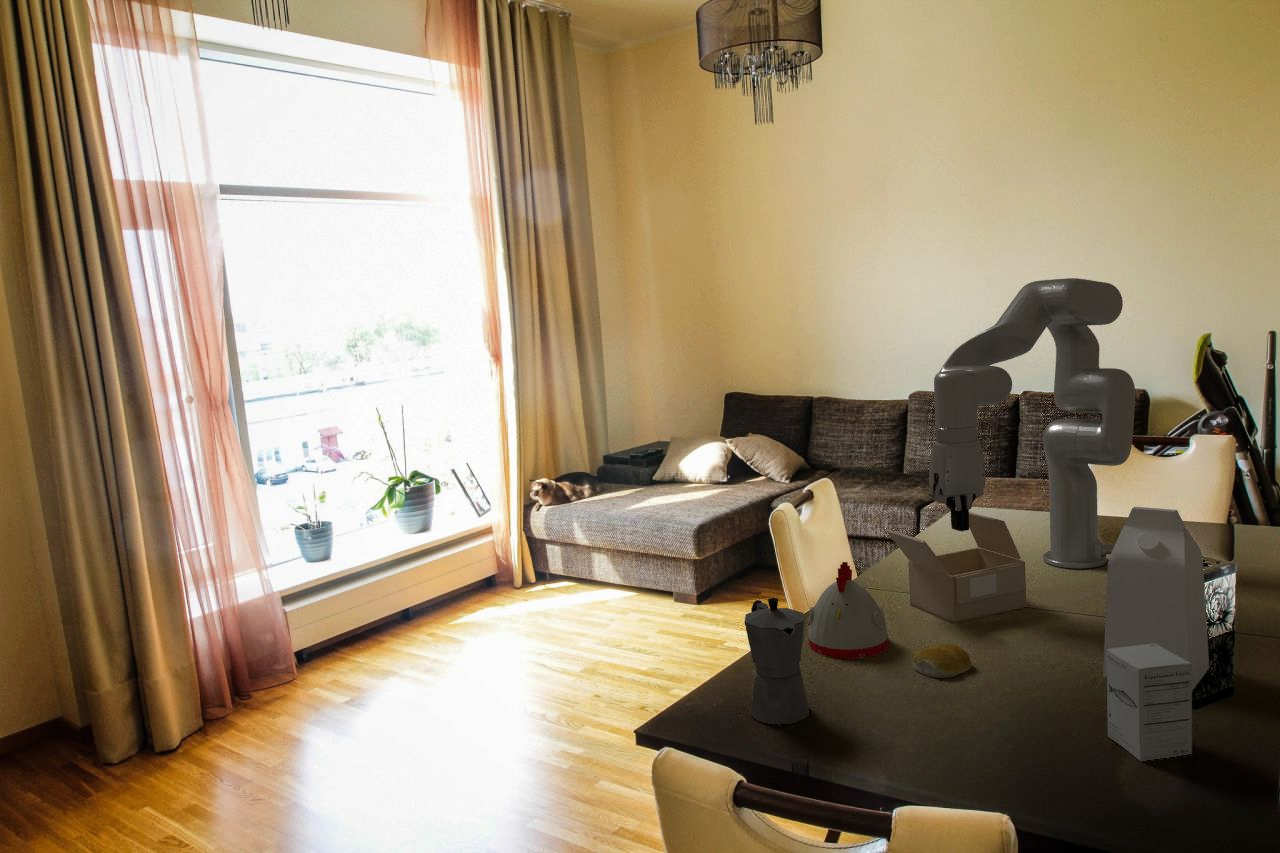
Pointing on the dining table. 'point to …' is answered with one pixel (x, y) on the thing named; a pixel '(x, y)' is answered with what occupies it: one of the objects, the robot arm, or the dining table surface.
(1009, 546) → the flap
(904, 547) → the flap
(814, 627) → the kitchen timer
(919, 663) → the bread roll
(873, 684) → the dining table surface
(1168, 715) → the supplement box
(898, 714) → the dining table surface
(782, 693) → the coffeepot
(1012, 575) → the carton
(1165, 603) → the milk
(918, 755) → the dining table surface
